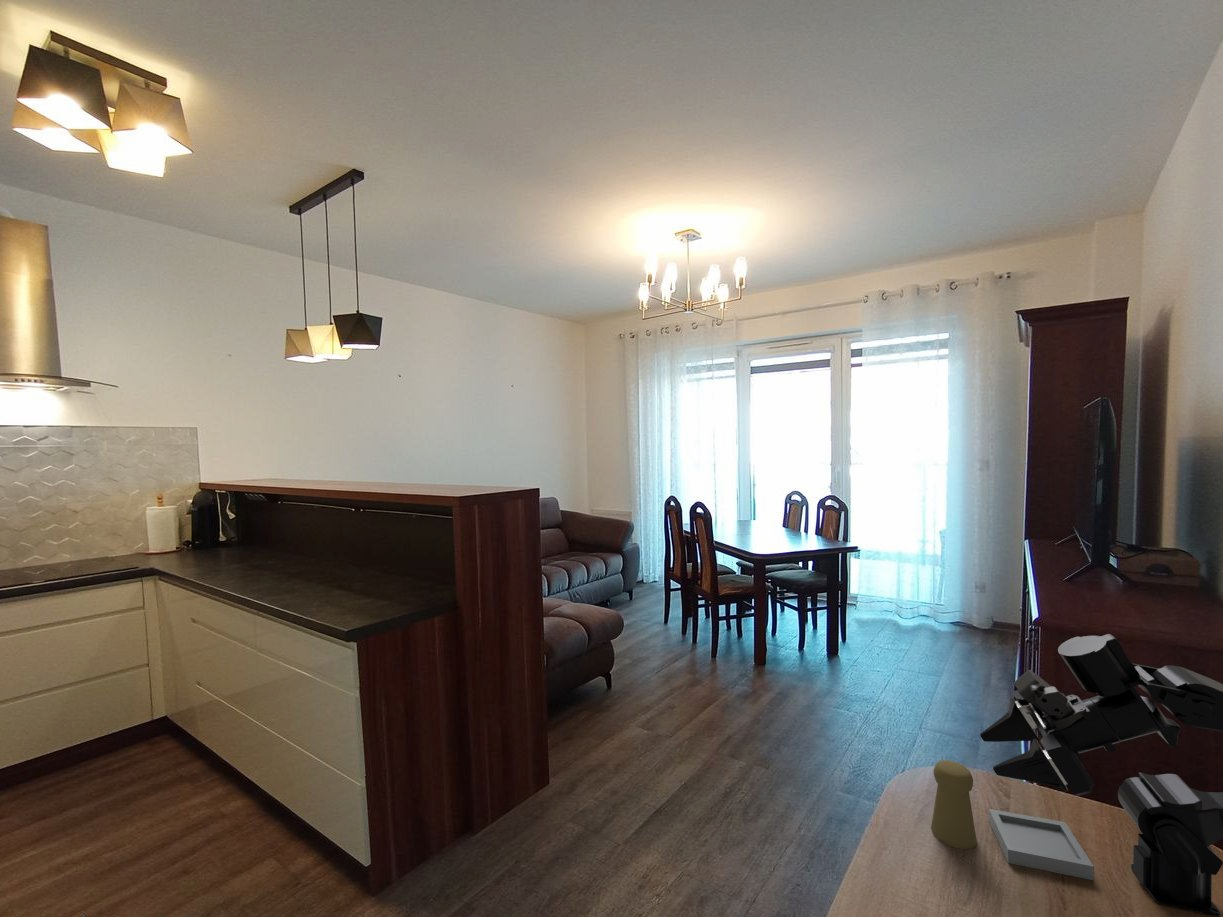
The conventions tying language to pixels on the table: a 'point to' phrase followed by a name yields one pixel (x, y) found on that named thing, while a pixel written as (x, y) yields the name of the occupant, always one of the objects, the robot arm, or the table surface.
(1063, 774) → the robot arm
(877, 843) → the table surface
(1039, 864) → the gray tray
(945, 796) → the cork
